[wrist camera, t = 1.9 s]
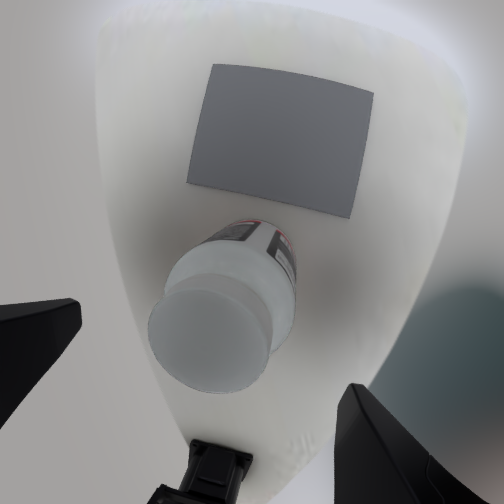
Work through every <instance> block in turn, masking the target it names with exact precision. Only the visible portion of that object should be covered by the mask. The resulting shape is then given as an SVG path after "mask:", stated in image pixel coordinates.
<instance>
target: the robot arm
mask: <svg viewBox="0 0 504 504" xmlns="http://www.w3.org/2000/svg"><path fill="white" fill-rule="evenodd" d="M81 326H82V316H81V306H80V303H79V302H78V301H76V300H74V299H71V298H65V299H56V300H47V301H38V302H29V303H18V304H8V305H0V429H1V428H2V426H3V425H4V424H5V422H6V421H7V420H8V418H9V417H10V416H11V414H12V413H13V412H14V411H15V409H16V408H17V407H18V405H19V404H20V403H21V402H22V401H23V399H24V398H25V397H26V396H27V394H28V393H29V392H30V391H31V390H32V388H33V387H34V386H35V385H36V384H37V382H38V381H39V380H40V379H41V378H42V377H43V375H44V374H45V373H46V372H47V371H48V370H49V368H50V367H51V366H52V365H53V364H54V363H55V362H56V361H57V359H58V358H59V357H60V356H61V354H62V353H63V352H64V350H65V349H66V347H67V346H68V345H69V343H70V342H71V341H72V339H73V338H74V337H75V335H76V334H77V332H78V331H79V330H80V328H81ZM252 461H253V456H252V455H248V454H244V453H240V452H236V451H232V450H228V449H224V448H220V447H217V446H213V445H210V444H207V443H203V442H200V441H197V440H192V441H191V443H190V450H189V461H188V468H187V471H186V473H185V475H184V478H183V480H182V482H181V485H180V487H179V489H178V490H176V489H173V488H170V487H168V486H167V485H164V484H161V485H160V487H159V488H157V489H156V491H155V492H154V494H153V495H152V497H151V498H150V500H149V501H148V503H147V504H236V500H237V496H238V492H239V488H240V484H241V482H242V481H243V480H244V478H245V476H246V474H247V472H248V469H249V467H250V465H251V463H252ZM334 477H335V478H334V479H335V480H334V481H335V485H334V488H335V489H334V504H489V503H487V502H486V501H484V500H483V499H481V498H480V497H479V496H477V495H476V494H475V493H473V492H472V491H471V490H470V489H469V488H467V487H466V486H465V485H463V484H462V483H461V482H460V481H458V480H457V479H456V478H455V477H454V476H453V475H452V474H450V473H449V472H448V471H447V470H446V469H445V468H444V467H443V466H442V465H441V464H440V463H439V462H438V461H437V460H435V458H434V457H433V456H432V455H429V452H428V451H427V450H426V449H425V448H424V447H423V446H422V445H421V444H420V443H419V442H418V441H417V440H416V439H415V438H414V437H413V436H412V435H411V434H410V433H409V432H408V431H407V430H406V429H405V428H404V427H403V426H402V425H401V424H400V422H399V421H397V419H396V418H395V417H394V416H393V415H392V414H391V413H390V412H389V411H388V410H387V409H386V408H385V407H384V406H383V405H382V404H381V403H380V402H379V401H378V400H377V399H376V398H375V396H373V394H372V393H371V392H370V391H369V390H368V389H367V388H366V387H365V386H364V385H362V384H356V383H351V384H349V385H348V387H347V389H346V391H345V392H344V394H343V396H342V398H341V400H340V402H339V404H338V409H337V422H336V434H335V445H334Z"/></svg>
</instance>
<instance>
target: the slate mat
mask: <svg viewBox="0 0 504 504" xmlns="http://www.w3.org/2000/svg"><path fill="white" fill-rule="evenodd" d="M373 95H374V93H373V92H370V91H366V90H363V89H360V88H356V87H353V86H349V85H346V84H342V83H338V82H334V81H330V80H326V79H322V78H317V77H313V76H308V75H303V74H297V73H292V72H286V71H280V70H273V69H266V68H258V67H249V66H239V65H226V64H213V66H212V70H211V74H210V77H209V81H208V85H207V89H206V93H205V97H204V101H203V105H202V109H201V114H200V118H199V122H198V127H197V131H196V136H195V141H194V145H193V150H192V155H191V160H190V166H189V171H188V176H187V182H186V183H190V184H196V185H202V186H207V187H212V188H217V189H223V190H228V191H233V192H237V193H242V194H247V195H252V196H257V197H261V198H266V199H270V200H275V201H279V202H283V203H288V204H292V205H296V206H300V207H305V208H309V209H313V210H317V211H321V212H325V213H329V214H332V215H336V216H340V217H344V218H348V219H350V215H351V211H352V207H353V202H354V198H355V194H356V189H357V185H358V180H359V176H360V171H361V166H362V161H363V156H364V151H365V146H366V140H367V134H368V129H369V122H370V116H371V110H372V103H373Z"/></svg>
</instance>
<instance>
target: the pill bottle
mask: <svg viewBox="0 0 504 504" xmlns="http://www.w3.org/2000/svg"><path fill="white" fill-rule="evenodd" d="M295 296H296V257H295V252H294V249H293V247H292V245H291V243H290V241H289V239H288V238H287V237H286V235H285V234H284V233H283V232H282V231H281V230H279V229H278V228H277V227H275V226H274V225H272V224H269V223H267V222H264V221H260V220H242V221H238V222H235V223H233V224H231V225H229V226H227V227H226V228H224V229H222V230H221V231H219V232H217V233H216V234H214V235H213V236H212V237H210V238H209V239H207V240H206V241H204V242H202V243H201V244H199V245H197V246H196V247H194V248H193V249H191V250H190V251H188V252H187V253H186V254H185V255H184V256H182V257H181V258H180V259H179V260H178V262H177V263H176V264H175V265H174V267H173V268H172V270H171V272H170V274H169V276H168V278H167V281H166V285H165V290H164V297H163V298H162V299H161V300H160V301H159V302H158V303H157V304H156V306H155V307H154V309H153V311H152V313H151V315H150V318H149V323H148V337H149V342H150V345H151V348H152V350H153V353H154V355H155V357H156V359H157V360H158V362H159V363H160V364H161V365H162V367H163V368H164V369H165V370H166V371H167V372H168V373H169V374H170V375H171V376H173V377H174V378H175V379H177V380H178V381H180V382H181V383H183V384H185V385H187V386H189V387H191V388H193V389H196V390H199V391H203V392H207V393H232V392H236V391H239V390H242V389H244V388H246V387H248V386H249V385H251V384H252V383H253V382H255V381H256V380H257V379H258V378H259V376H260V375H261V374H262V373H263V371H264V369H265V367H266V364H267V361H268V358H269V355H270V354H272V353H273V352H274V351H275V350H276V349H278V348H279V347H280V346H281V344H282V343H283V342H284V341H285V339H286V338H287V336H288V334H289V332H290V330H291V327H292V324H293V320H294V316H295V307H296V298H295Z"/></svg>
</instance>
